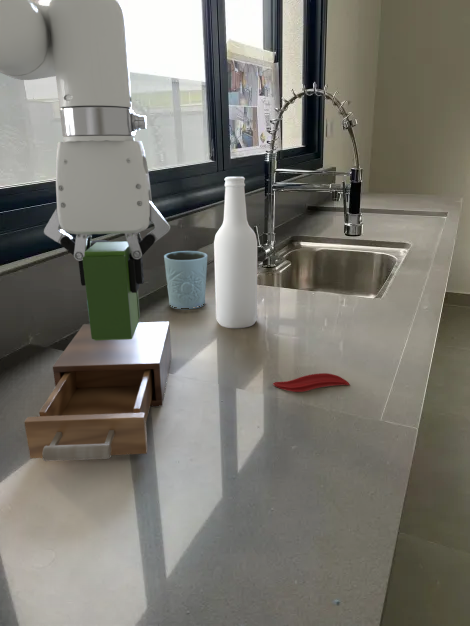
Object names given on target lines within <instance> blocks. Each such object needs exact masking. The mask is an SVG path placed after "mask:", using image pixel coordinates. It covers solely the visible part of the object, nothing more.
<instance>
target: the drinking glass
mask: <svg viewBox="0 0 470 626" xmlns="http://www.w3.org/2000/svg"><path fill="white" fill-rule="evenodd" d="M163 258H164V259H163V260H164V268H165V277H166V278H165V279H166V283H167V287H166V288H167V294H168V304H169V306H170V305H171V306H170V307H171V308H172V309H176V310H182V309H181V308H189V309H188V310H194V309H199V308H202V307H204V306H205V304H206V292H207V283H206V282H207V270H208V254H207V253H205V252H202V251H197V250H179V251H172V252H168V253H166V254H164V255H163ZM204 303H205V304H204ZM203 304H204V305H203ZM201 305H202V306H201ZM172 306H173V307H172ZM197 306H200V307H197ZM174 307H177V308H174ZM193 307H196V308H193Z"/></svg>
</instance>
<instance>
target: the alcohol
mask: <svg viewBox="0 0 470 626" xmlns="http://www.w3.org/2000/svg"><path fill="white" fill-rule="evenodd" d="M245 180H246V178H245V177H244V176H226V177H225V178H224V181H225V182H224V187H225V188H224V206H223V221H222V224H221V226H220V227H219V229H218V230H217V232H216V233H215V236H214V240H213V252H214V253H213V255H214V256H213V257H214V259H213V260H214V290H215V292H214V295H215V319H216V321H217V323H218V325H220V326H221V327H223V328H227V329H246V328H249V327H251V326H253V325H255V324H256V322H257V320H258V239H257V235H256V233H255V231H254V229H253V228H252V227H251V226H250V225H249V222H248V215H247V204H246V203H247V202H246V192H245V186H246V183H245Z"/></svg>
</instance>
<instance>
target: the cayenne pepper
mask: <svg viewBox="0 0 470 626" xmlns="http://www.w3.org/2000/svg"><path fill="white" fill-rule="evenodd" d="M272 385H273V386H274V387H276V388H278V389H280V390H283V391H288V392H293V393H303V392H309V391H312V390H315V389H319V388H325V387H335V386H351V383H350V382H349V381H347V380H346V379H344V378H343V377H341V376H339V375H336V374H332V373H328V372H323V373H312V374H311V373H310V374H307V375H303V376H300V377H296V378H294V379H290V380H285V381H274V382H272Z"/></svg>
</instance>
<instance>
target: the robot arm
mask: <svg viewBox="0 0 470 626" xmlns="http://www.w3.org/2000/svg"><path fill="white" fill-rule="evenodd" d="M0 74H3V75H4V76H6V77H9V78H11V79H14V80H20V81H33V80H40V79H41V80H42V79H46V78H52V77H55V82H56V89H57V97H58V107H59V116H60V124H61V133H62V141H57V145H56V157H55V193H56V208H55V210H54V212H53V213H52V215H51V217H50V218H49V220H48V222H47V223H46V225H45V227H44V228H43V234H44V235H45V236H47V238H49V239H51V240H52V241H54V242H56V243H58V244H60V245H61V247H63V248H64V249H65V250H66V251H67V252H69V253H70V255H72V256H73V258H74V259H75V260H76V261H78V270H79V277H80V278H79V279H80V284H81V286H82V287H83V286H84V287H86V285H85V277H84V268H83V259H82V257H84V256H85V254H84V252H85V251H87V250H88V249H89V248H90V247H91V241H92V240H93V235H107V234H108V235H109V234H112V235H113V234H124V237H125V240H126V242H127V243H128V246H129V249H130V252H131V253H130V258H129V260H128V270H129V282H130V292H132V293H137V291H138V292H139V289H140V285H143V284H144V282H145V275H144V263H143V261H144V260H143V256H144V255H145V254H146V252H147V251H148V250H149V249H150V248H151V247H152V246H153V245H154V243H157V241H158V240H160V239H162V238H163V237H164V236H165V235H167V234H168V233H169V232H170V230H171V225H170V224H169V222H168V221H167V220H166V219H165V217H164V216H163V215H162V213H161V212H160V210H159V209H158V208H157V207H156V206H155V205H154V203H153V199H152V197H153V196H152V189H151V182H150V175H149V167H148V161H147V157H146V152H145V149H144V145H143V141H142V140H135V135H136V133H137V131H140V130H146V129H147V125H148V124H147V116H146V115H140V114H136V112H134V110H133V103H132V91H131V78H130V77H131V76H130V63H129V50H128V37H127V24H126V16H125V12H124V9H123V6H122V4H120V2H119V0H50V2H49V5H41V4H39V3H37V2H35V1H33V0H0ZM151 224H153V226H154V228H153V229H152V230H151V231H150V232H148V233H147V234H145V236H144V237H143V238H142V236H141V232H143V231H146V230H147V229H148V228H149V226H150V225H151ZM73 235H75V237H74V236H73Z"/></svg>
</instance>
